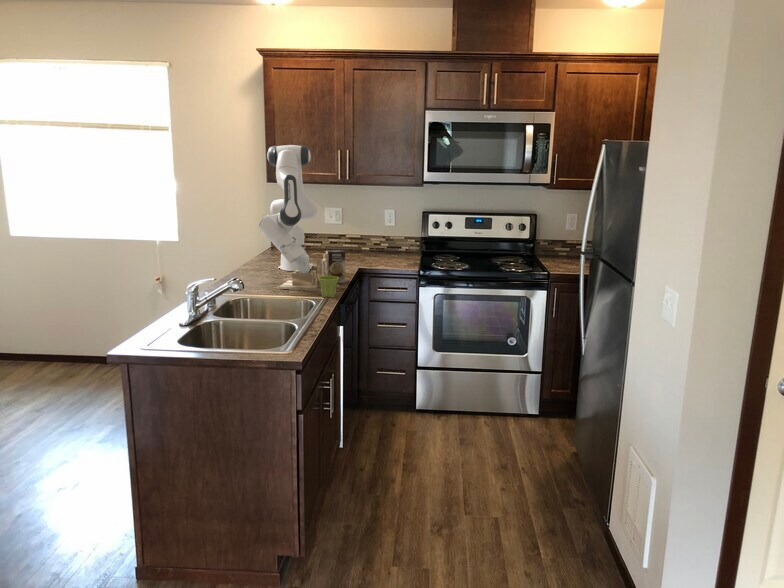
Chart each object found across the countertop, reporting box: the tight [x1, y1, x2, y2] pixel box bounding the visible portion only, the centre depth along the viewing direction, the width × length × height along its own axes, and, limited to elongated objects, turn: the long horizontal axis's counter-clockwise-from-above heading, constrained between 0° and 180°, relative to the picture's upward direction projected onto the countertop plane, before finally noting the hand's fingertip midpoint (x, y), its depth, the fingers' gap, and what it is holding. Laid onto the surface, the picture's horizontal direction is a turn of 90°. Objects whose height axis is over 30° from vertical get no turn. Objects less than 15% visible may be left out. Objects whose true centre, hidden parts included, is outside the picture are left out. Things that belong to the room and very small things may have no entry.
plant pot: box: [318, 276, 339, 298], centre depth 281 cm, size 9×9×9 cm
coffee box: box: [325, 249, 346, 284], centre depth 312 cm, size 9×6×16 cm
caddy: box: [279, 253, 328, 292], centre depth 299 cm, size 16×20×16 cm
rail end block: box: [299, 255, 310, 273], centre depth 299 cm, size 4×4×12 cm
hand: (305, 264), depth 298 cm, fingers closed on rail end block, 4 cm apart
